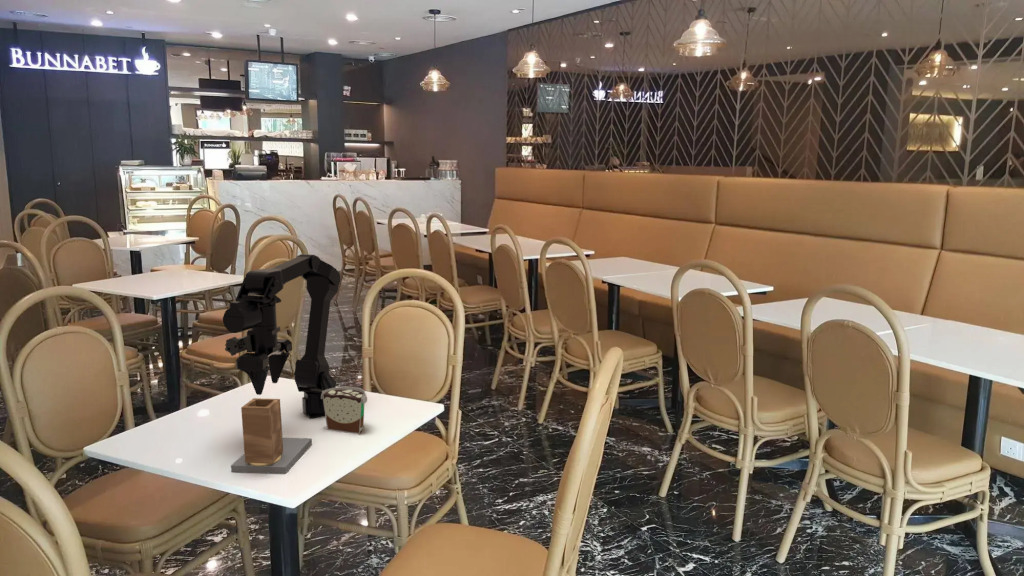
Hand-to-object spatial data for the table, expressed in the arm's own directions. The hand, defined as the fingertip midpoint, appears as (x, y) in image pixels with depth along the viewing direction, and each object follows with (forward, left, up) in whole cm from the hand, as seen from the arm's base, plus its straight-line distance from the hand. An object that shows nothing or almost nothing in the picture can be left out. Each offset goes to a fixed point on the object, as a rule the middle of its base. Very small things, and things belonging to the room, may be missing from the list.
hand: (267, 388), depth 164 cm
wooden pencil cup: (+5, +14, -11) cm, 18 cm away
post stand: (+2, +10, -13) cm, 17 cm away
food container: (-19, +3, -13) cm, 23 cm away
